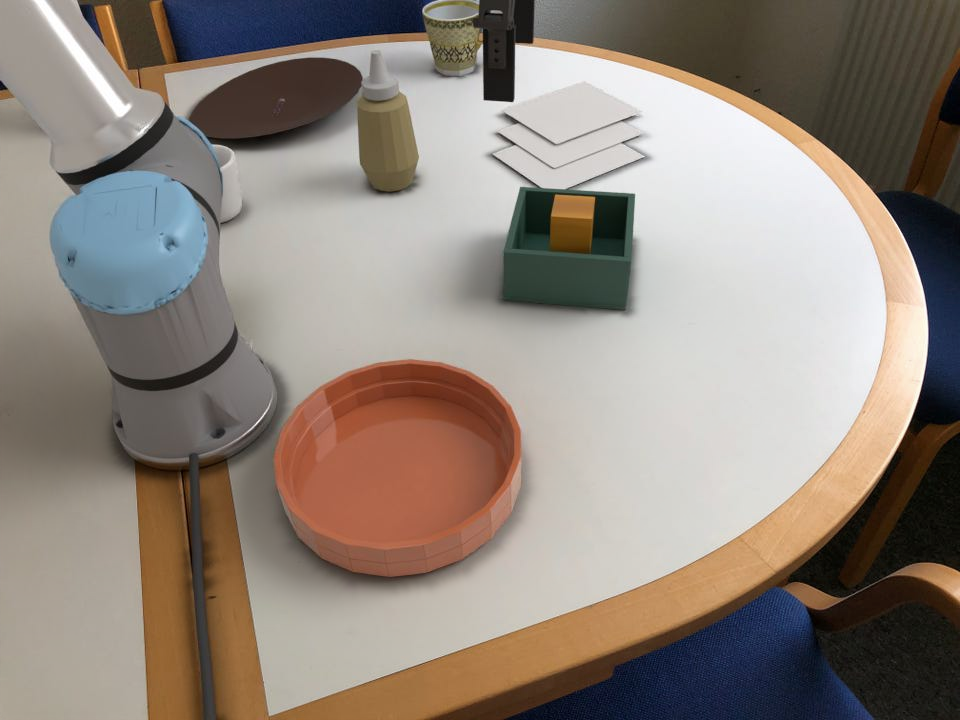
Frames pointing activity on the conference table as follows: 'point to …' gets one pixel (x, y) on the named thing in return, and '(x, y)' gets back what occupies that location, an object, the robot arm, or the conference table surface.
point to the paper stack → (569, 136)
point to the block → (572, 224)
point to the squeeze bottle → (385, 130)
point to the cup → (229, 183)
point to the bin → (569, 274)
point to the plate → (277, 98)
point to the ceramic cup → (453, 35)
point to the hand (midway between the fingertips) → (510, 69)
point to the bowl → (399, 467)
